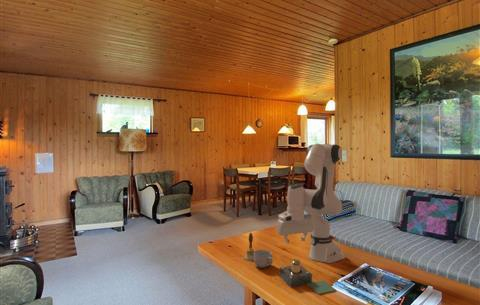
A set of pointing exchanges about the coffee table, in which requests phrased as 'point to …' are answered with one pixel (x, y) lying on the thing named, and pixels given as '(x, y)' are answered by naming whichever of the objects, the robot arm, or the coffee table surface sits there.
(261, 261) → the teacup
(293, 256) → the coffee table surface
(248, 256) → the hand bell
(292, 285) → the housing
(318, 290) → the coaster
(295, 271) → the plug
